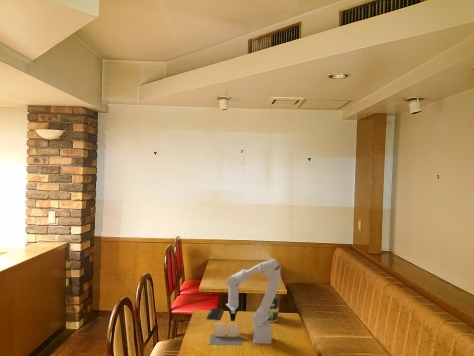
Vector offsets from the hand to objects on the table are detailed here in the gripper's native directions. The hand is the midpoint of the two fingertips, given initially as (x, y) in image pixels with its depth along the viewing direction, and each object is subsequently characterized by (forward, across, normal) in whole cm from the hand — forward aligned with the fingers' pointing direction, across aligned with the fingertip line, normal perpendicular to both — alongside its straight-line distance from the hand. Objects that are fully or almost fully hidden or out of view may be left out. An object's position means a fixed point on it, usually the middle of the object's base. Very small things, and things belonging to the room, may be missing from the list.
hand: (232, 320), depth 187 cm
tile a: (+6, +6, 0) cm, 9 cm away
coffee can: (+6, -17, +23) cm, 29 cm away
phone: (+7, -20, -11) cm, 24 cm away
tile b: (+6, +6, -7) cm, 11 cm away
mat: (+6, +10, -3) cm, 12 cm away
